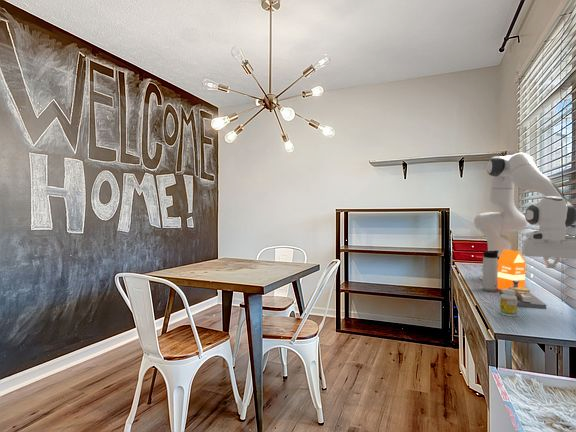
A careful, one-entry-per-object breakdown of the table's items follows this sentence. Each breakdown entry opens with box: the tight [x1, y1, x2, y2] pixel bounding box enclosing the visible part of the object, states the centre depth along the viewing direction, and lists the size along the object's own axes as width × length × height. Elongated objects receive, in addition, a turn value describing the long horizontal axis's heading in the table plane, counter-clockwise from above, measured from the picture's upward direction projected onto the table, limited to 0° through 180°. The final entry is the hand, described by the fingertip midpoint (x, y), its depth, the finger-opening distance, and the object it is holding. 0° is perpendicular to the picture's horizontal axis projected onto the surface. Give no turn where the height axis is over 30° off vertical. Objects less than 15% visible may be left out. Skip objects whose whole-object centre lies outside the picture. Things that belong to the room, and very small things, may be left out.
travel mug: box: [482, 250, 499, 293], centre depth 168 cm, size 6×7×20 cm
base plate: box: [499, 289, 547, 310], centre depth 151 cm, size 23×12×2 cm, turn 159°
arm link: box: [511, 280, 531, 302], centre depth 150 cm, size 21×4×5 cm, turn 158°
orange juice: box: [497, 249, 526, 290], centre depth 170 cm, size 8×9×20 cm
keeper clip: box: [509, 287, 531, 296], centre depth 149 cm, size 4×7×4 cm, turn 69°
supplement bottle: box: [499, 289, 518, 317], centre depth 130 cm, size 5×5×10 cm
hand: (550, 268), depth 141 cm, fingers closed
